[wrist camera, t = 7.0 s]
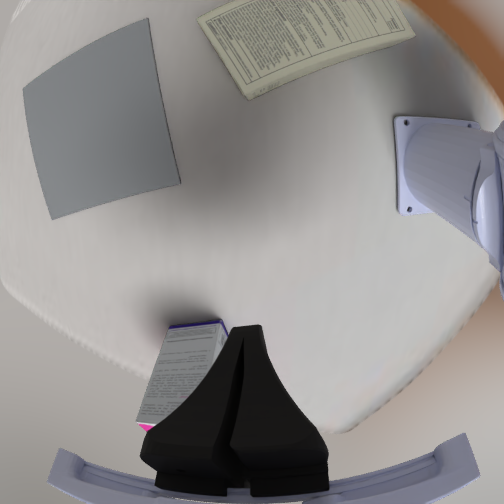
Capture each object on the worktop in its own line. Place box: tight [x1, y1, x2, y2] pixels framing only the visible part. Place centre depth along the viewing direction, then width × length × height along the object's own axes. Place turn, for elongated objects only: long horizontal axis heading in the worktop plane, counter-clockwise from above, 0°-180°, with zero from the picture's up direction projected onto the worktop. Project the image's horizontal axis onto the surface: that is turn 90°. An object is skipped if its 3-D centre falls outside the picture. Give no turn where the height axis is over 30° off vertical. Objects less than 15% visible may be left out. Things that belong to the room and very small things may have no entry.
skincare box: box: [196, 0, 416, 101], centre depth 13 cm, size 6×4×12 cm
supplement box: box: [136, 319, 228, 431], centre depth 22 cm, size 6×6×12 cm
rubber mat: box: [23, 18, 181, 220], centre depth 17 cm, size 14×14×1 cm
